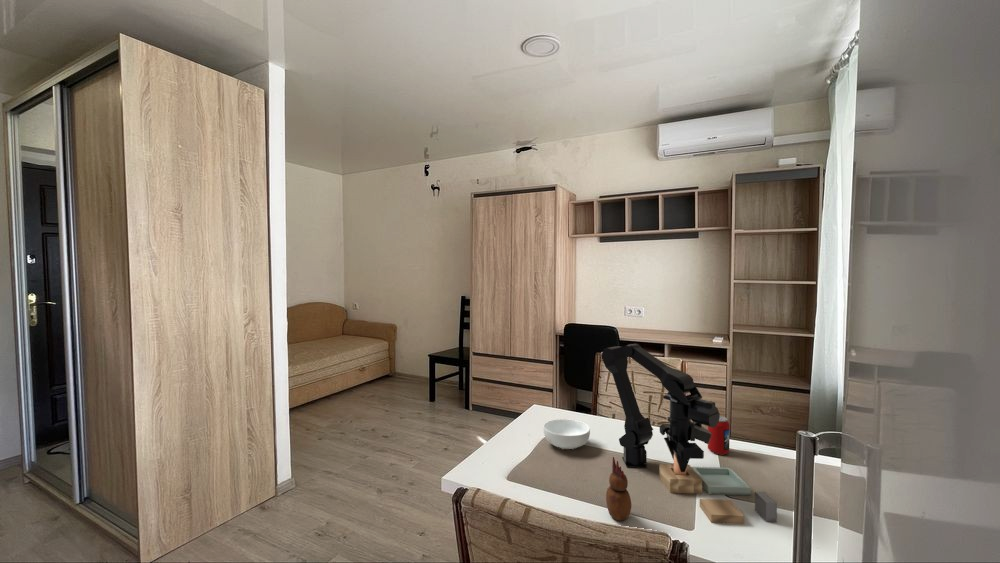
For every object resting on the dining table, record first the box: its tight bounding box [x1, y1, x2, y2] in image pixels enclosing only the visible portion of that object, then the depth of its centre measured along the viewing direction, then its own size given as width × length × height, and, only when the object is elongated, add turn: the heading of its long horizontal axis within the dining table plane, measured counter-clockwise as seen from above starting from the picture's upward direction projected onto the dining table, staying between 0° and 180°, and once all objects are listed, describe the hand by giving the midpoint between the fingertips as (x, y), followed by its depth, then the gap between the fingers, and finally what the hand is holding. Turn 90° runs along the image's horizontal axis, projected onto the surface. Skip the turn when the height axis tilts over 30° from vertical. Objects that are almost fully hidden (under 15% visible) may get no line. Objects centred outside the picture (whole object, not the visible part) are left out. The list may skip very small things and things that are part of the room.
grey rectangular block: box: [754, 491, 778, 523], centre depth 104 cm, size 3×5×5 cm, turn 176°
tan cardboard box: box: [699, 498, 745, 525], centre depth 105 cm, size 8×7×2 cm
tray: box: [691, 466, 752, 496], centre depth 120 cm, size 12×12×2 cm
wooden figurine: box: [605, 456, 632, 522], centre depth 104 cm, size 7×6×15 cm
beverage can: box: [707, 415, 730, 456], centre depth 141 cm, size 7×7×12 cm
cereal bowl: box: [543, 418, 591, 450], centre depth 147 cm, size 17×17×7 cm
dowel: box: [673, 454, 686, 475], centre depth 119 cm, size 4×4×9 cm
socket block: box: [659, 463, 703, 494], centre depth 119 cm, size 9×9×4 cm
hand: (679, 468), depth 119 cm, fingers open, 4 cm apart
